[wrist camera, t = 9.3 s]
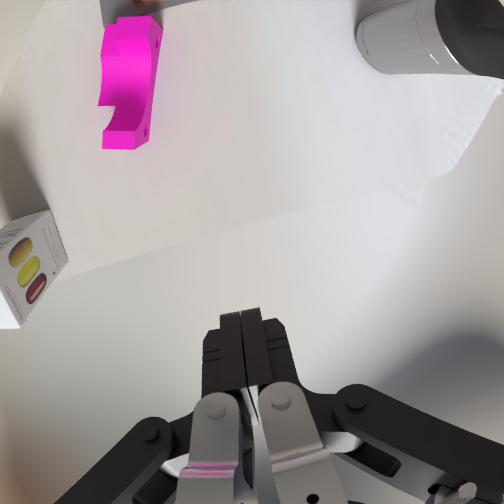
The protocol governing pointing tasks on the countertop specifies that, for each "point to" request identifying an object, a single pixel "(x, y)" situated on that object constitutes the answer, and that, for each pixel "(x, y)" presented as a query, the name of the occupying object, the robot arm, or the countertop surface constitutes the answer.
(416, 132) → the countertop surface
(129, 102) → the toy block
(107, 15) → the mat
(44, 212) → the supplement box
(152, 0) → the ash block
